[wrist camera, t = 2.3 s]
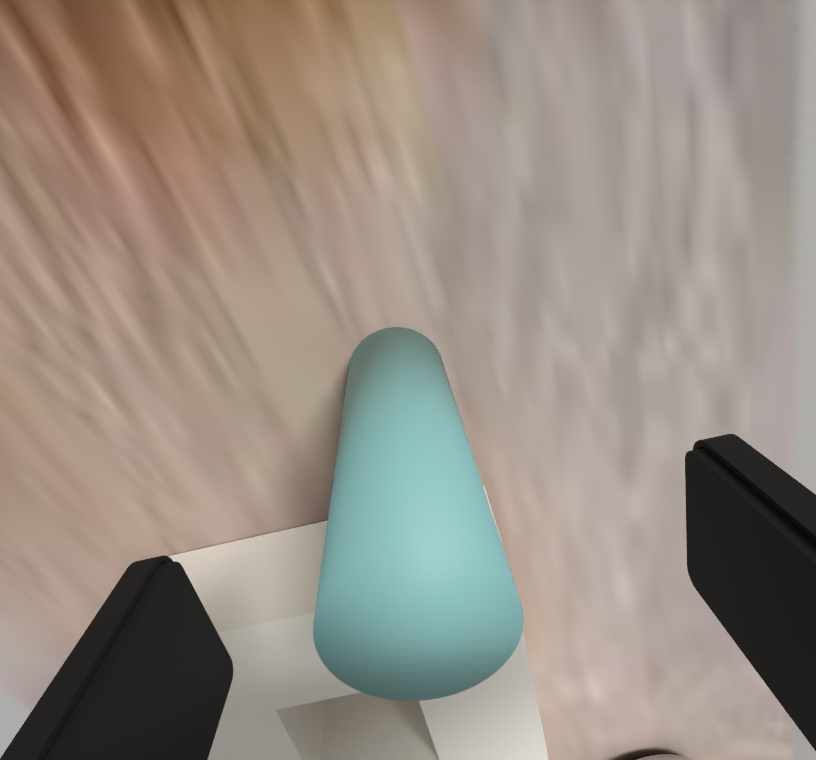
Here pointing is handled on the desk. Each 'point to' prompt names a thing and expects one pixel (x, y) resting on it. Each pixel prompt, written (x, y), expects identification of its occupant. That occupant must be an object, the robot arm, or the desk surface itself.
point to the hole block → (319, 689)
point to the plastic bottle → (664, 757)
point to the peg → (410, 536)
